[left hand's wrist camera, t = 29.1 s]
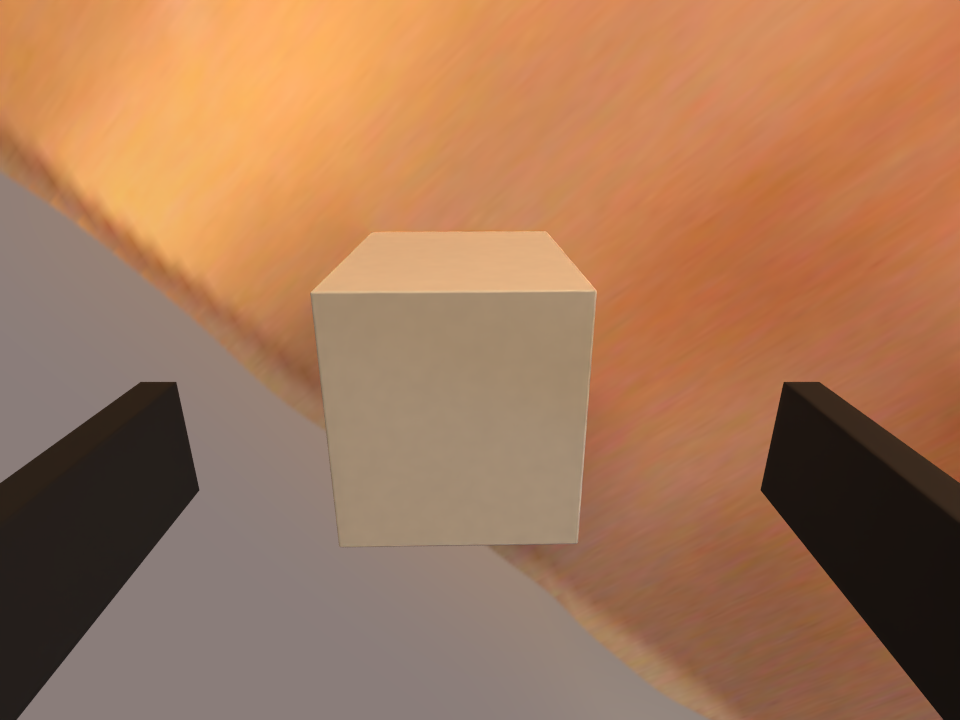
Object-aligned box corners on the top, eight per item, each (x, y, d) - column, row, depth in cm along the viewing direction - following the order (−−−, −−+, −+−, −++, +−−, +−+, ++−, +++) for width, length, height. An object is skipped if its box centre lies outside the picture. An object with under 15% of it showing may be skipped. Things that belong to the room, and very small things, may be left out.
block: (383, 406, 22) (339, 548, 14) (370, 231, 19) (309, 291, 12) (539, 404, 22) (577, 544, 14) (546, 231, 19) (597, 289, 12)
